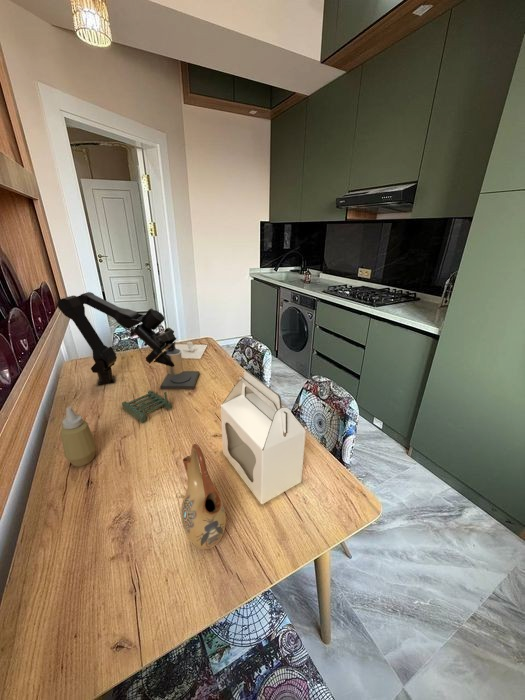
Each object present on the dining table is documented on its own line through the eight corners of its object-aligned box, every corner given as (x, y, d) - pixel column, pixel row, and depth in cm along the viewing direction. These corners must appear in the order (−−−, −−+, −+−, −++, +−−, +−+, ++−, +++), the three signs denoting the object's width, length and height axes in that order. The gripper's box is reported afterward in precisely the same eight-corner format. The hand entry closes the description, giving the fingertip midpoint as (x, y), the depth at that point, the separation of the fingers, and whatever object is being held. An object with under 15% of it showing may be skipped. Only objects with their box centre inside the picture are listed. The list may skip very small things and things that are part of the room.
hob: (160, 389, 123) (160, 384, 123) (169, 374, 136) (169, 369, 136) (193, 389, 124) (193, 384, 123) (199, 374, 137) (199, 369, 136)
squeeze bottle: (105, 454, 87) (92, 404, 80) (79, 473, 81) (63, 420, 74) (87, 446, 90) (73, 397, 84) (61, 464, 84) (44, 412, 77)
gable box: (222, 452, 89) (218, 371, 78) (258, 437, 96) (259, 360, 85) (262, 506, 72) (263, 411, 61) (302, 482, 79) (310, 394, 68)
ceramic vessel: (175, 515, 69) (163, 430, 60) (210, 499, 74) (204, 417, 64) (197, 582, 56) (186, 487, 47) (239, 557, 61) (237, 466, 51)
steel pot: (162, 372, 122) (160, 352, 119) (175, 366, 128) (173, 347, 124) (174, 376, 119) (172, 356, 115) (186, 370, 124) (185, 350, 121)
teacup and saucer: (195, 352, 160) (195, 345, 159) (181, 352, 160) (180, 345, 159) (198, 346, 168) (198, 340, 167) (185, 346, 168) (184, 339, 167)
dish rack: (122, 408, 110) (119, 391, 107) (151, 395, 119) (148, 379, 116) (142, 422, 102) (139, 404, 99) (171, 408, 111) (169, 391, 108)
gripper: (149, 331, 107) (180, 360, 110) (170, 317, 124) (196, 343, 127) (132, 349, 111) (163, 377, 114) (154, 333, 128) (180, 358, 131)
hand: (177, 362), depth 122 cm, fingers closed on steel pot, 6 cm apart
